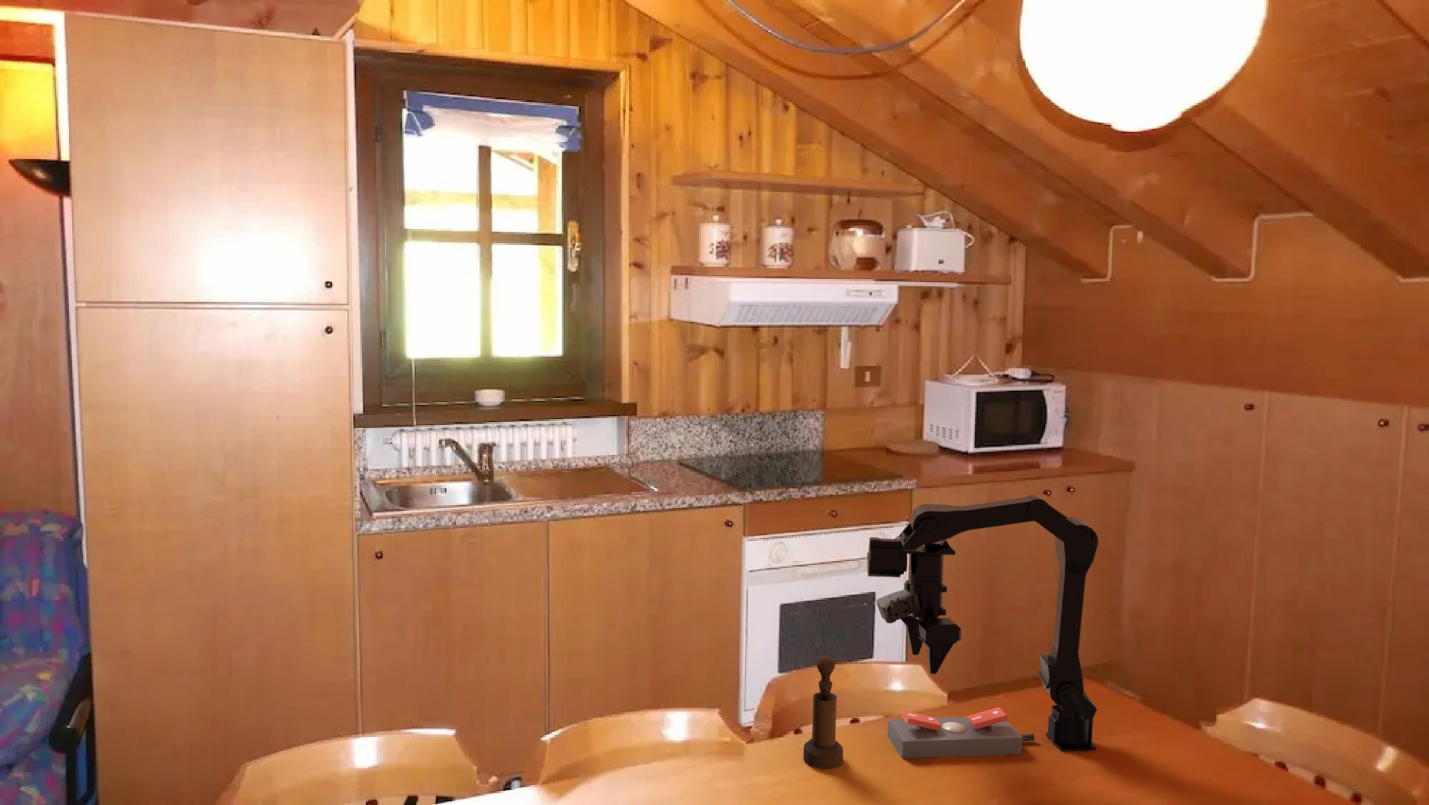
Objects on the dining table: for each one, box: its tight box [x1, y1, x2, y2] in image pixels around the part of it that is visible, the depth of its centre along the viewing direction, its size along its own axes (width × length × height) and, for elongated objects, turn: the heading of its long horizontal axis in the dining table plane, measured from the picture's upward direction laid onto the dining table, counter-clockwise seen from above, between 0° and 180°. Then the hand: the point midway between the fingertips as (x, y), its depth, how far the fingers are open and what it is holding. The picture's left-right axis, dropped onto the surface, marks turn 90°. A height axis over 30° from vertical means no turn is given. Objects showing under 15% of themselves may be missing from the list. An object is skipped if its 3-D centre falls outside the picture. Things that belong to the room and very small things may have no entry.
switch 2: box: [966, 706, 1008, 729], centre depth 178 cm, size 6×3×1 cm, turn 96°
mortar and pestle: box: [802, 654, 844, 769], centre depth 170 cm, size 7×6×18 cm
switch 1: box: [901, 710, 941, 731], centre depth 176 cm, size 6×3×1 cm, turn 97°
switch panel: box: [886, 716, 1035, 759], centre depth 177 cm, size 25×9×4 cm, turn 96°
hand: (924, 664), depth 180 cm, fingers open, 9 cm apart
